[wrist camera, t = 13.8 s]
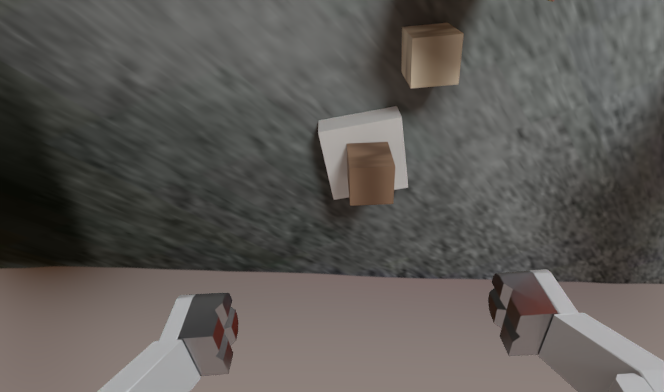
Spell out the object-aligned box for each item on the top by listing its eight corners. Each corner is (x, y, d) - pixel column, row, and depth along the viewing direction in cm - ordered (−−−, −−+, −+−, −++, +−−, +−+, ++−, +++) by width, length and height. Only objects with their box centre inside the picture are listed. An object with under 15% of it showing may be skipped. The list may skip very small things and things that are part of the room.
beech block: (447, 22, 42) (463, 33, 37) (443, 68, 45) (458, 84, 40) (402, 26, 42) (412, 38, 37) (401, 72, 45) (410, 88, 40)
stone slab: (396, 104, 47) (401, 117, 44) (403, 172, 53) (408, 187, 50) (318, 119, 48) (318, 132, 45) (333, 183, 54) (333, 199, 51)
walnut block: (387, 141, 46) (395, 166, 41) (386, 176, 49) (393, 203, 44) (346, 143, 46) (349, 168, 41) (347, 178, 49) (350, 205, 44)
